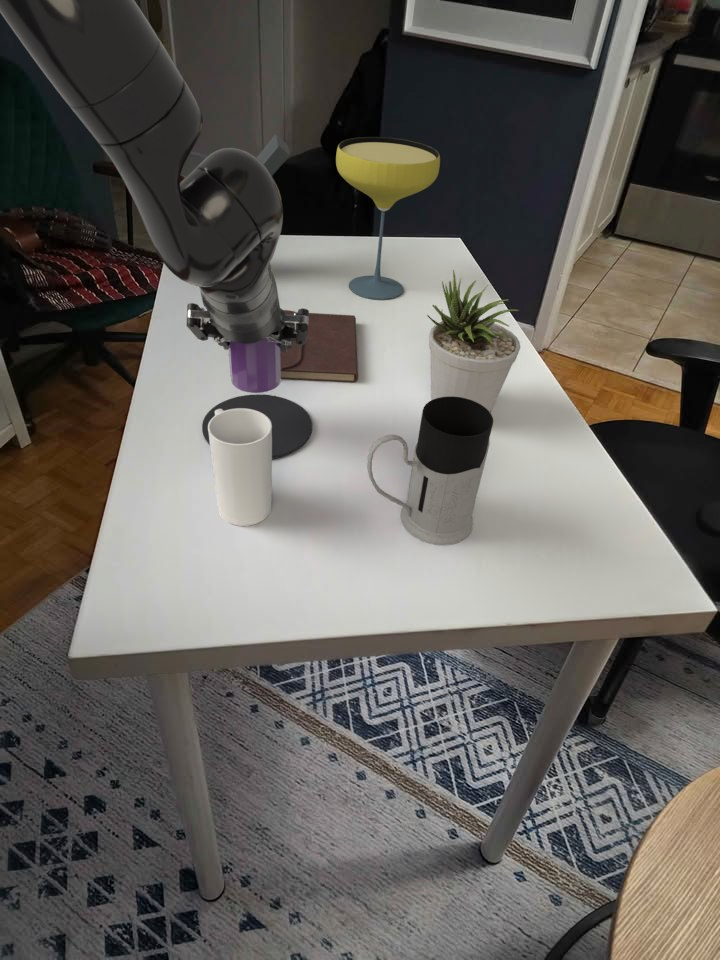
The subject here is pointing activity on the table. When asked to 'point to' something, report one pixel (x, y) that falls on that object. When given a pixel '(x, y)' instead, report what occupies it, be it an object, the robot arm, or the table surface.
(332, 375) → the notebook
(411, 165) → the cocktail glass
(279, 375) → the cup
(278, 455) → the mat
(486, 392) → the potted plant
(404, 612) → the table surface
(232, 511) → the mug
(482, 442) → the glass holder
